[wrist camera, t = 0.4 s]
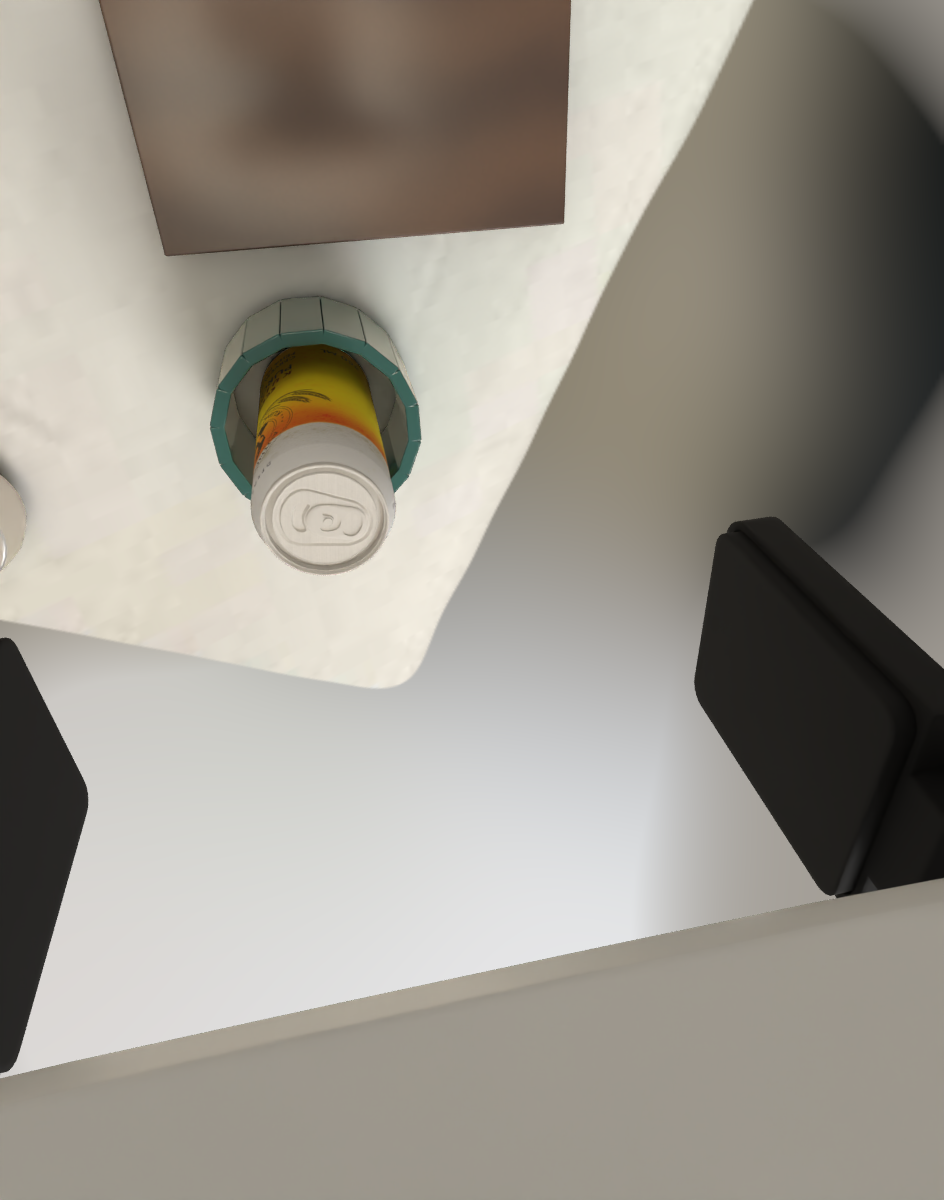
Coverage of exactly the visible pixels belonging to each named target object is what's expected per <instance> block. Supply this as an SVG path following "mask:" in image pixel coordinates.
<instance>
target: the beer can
mask: <svg viewBox="0 0 944 1200" xmlns="http://www.w3.org/2000/svg"><path fill="white" fill-rule="evenodd" d="M395 512H396V502H395V495H394V491H393V486H392V482H391V478H390V473H389V469H388V465H387V460H386V456H385V452H384V448H383V443H382V439H381V435H380V430H379V426H378V422H377V417H376V413H375V409H374V404H373V400H372V396H371V391H370V387H369V383H368V380H367V378H366V375H365V374H364V372H363V370H362V369H361V367H360V366H359V364H358V363H357V362H356V361H355V360H354V359H353V358H352V357H351V356H349V355H348V354H347V353H345V352H343V351H342V350H340V349H338V348H335V347H332V346H328V345H325V344H317V345H307V346H297V347H291V348H289V349H287V350H285V351H283V352H282V353H281V354H279V355H278V356H277V357H276V358H275V359H274V360H273V361H272V362H271V363H270V365H269V366H268V368H267V369H266V371H265V374H264V376H263V379H262V383H261V390H260V401H259V413H258V425H257V436H256V448H255V459H254V471H253V483H252V494H251V515H252V519H253V523H254V525H255V528H256V530H257V532H258V534H259V536H260V537H261V539H262V540H263V541H264V543H265V544H266V545H267V546H268V547H269V549H270V550H271V552H272V553H273V554H274V555H275V556H276V557H277V558H278V559H279V560H281V561H282V562H283V563H285V564H286V565H288V566H290V567H291V568H293V569H296V570H298V571H301V572H304V573H308V574H313V575H336V574H342V573H345V572H349V571H351V570H354V569H356V568H358V567H360V566H362V565H363V564H365V563H366V562H367V561H369V560H370V559H371V558H372V557H373V556H374V555H375V554H376V553H377V552H378V550H379V549H380V548H381V546H382V544H383V543H384V541H385V539H386V537H387V536H388V534H389V532H390V530H391V528H392V525H393V522H394V518H395Z"/></svg>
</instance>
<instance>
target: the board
mask: <svg viewBox="0 0 944 1200" xmlns="http://www.w3.org/2000/svg"><path fill="white" fill-rule="evenodd" d="M99 3H100V7H101V11H102V14H103V18H104V22H105V26H106V30H107V34H108V37H109V41H110V45H111V49H112V53H113V57H114V61H115V64H116V68H117V72H118V76H119V80H120V84H121V87H122V91H123V95H124V99H125V103H126V107H127V111H128V114H129V118H130V122H131V126H132V130H133V134H134V137H135V141H136V145H137V149H138V153H139V157H140V161H141V164H142V168H143V172H144V176H145V180H146V184H147V187H148V191H149V195H150V199H151V203H152V207H153V211H154V214H155V218H156V222H157V226H158V230H159V234H160V237H161V241H162V245H163V249H164V253H165V255H166V256H176V255H189V254H201V253H213V252H225V251H238V250H250V249H262V248H274V247H287V246H299V245H311V244H323V243H336V242H348V241H360V240H372V239H385V238H397V237H409V236H421V235H434V234H446V233H458V232H470V231H483V230H495V229H507V228H519V227H532V226H544V225H556V224H563V223H564V209H565V177H566V145H567V113H568V81H569V48H570V16H571V0H99Z"/></svg>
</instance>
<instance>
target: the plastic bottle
mask: <svg viewBox="0 0 944 1200" xmlns="http://www.w3.org/2000/svg"><path fill="white" fill-rule="evenodd" d="M26 519H27V516H26V511H25V507H24V504H23V502H22V499H21V497H20V496H19V494H18V493H17V491H16V490H15V488H14V487H13V486H12V485H11V484H10V483H9V482H8V481H7V480H6V479H5V478H4V477H3V476H1V475H0V572H1V571H2V570H3V569H4V568H5V567H6V566H7V565H8V564H9V563H10V562H11V561H12V559H13V558H14V557H15V556H16V554H17V553H18V551H19V550H20V549H21V546H22V543H23V540H24V535H25V529H26Z"/></svg>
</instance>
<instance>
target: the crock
mask: <svg viewBox="0 0 944 1200" xmlns="http://www.w3.org/2000/svg"><path fill="white" fill-rule="evenodd" d="M317 344H325V345H328V346H332V347H335V348H338V349H342V350H345V351H349V352H352V353H355V354H359V355H361V356H362V357H363V358H364V359H366V360H367V361H368V362H369V363H371V364H372V365H373V366H375V367H376V368H377V369H378V370H380V371H381V372H382V373H383V374H385V375H386V376H387V377H388V378H389V379H390V381H391V383H392V385H393V387H394V388H395V395H396V400H395V403H394V407H393V410H392V413H391V416H390V419H389V423H388V426H387V427H386V429H385V430H384V431H383V432H382V433H381V434H380V435H381V439H382V443H383V448H384V452H385V456H386V460H387V465H388V469H389V473H390V478H391V482H392V486H393V491H394V493H395V492H396V491H397V490H398V488H399V487H400V486H401V485H402V484H403V483H404V482H405V481H406V479H407V478H408V477H409V474H410V473H411V470H412V467H413V464H414V462H415V459H416V456H417V453H418V450H419V447H420V444H421V441H420V440H421V428H420V417H419V405H418V403H417V399H416V396H415V393H414V391H413V388H412V385H411V382H410V379H409V377H408V374H407V371H406V368H405V365H404V363H403V361H402V359H401V357H400V355H399V353H398V352H397V350H396V348H395V346H394V344H393V342H392V340H391V338H390V337H389V335H388V334H387V332H386V331H385V330H384V329H382V328H381V327H380V326H379V325H378V324H376V323H375V322H374V321H373V320H372V319H370V318H369V317H368V316H367V315H366V314H364V313H363V312H362V311H361V310H360V309H357V308H356V307H353V306H350V305H347V304H344V303H341V302H337V301H334V300H331V299H328V298H325V297H319V296H315V297H303V298H292V299H282V300H281V301H277V302H275V303H274V304H272V305H270V306H268V307H266V308H265V309H263V310H261V311H259V312H257V313H256V314H254V315H252V316H250V317H249V318H248V320H245V322H244V323H243V325H242V326H241V327H240V329H239V330H238V332H237V333H236V334H235V336H234V337H233V338H232V340H231V341H230V343H229V344H228V345H227V347H226V350H225V352H224V356H223V361H222V366H221V371H220V375H219V380H218V385H217V389H216V395H215V400H214V406H213V411H212V416H211V422H210V426H211V427H210V430H211V434H212V438H213V442H214V445H215V449H216V453H217V457H218V461H219V464H221V465H220V466H221V467H222V469H223V470H224V471H225V473H226V474H227V475H228V477H229V478H230V479H231V480H232V482H233V483H234V484H235V486H236V487H237V488H238V490H239V491H240V492H241V493H242V495H245V497H246V498H248V499H249V500H251V494H252V483H253V471H254V459H255V448H256V439H255V437H254V436H253V435H252V433H251V432H250V430H249V429H248V428H247V426H246V425H245V423H244V422H243V421H242V419H241V418H240V416H239V413H238V409H237V405H236V401H235V396H234V392H233V391H234V390H235V388H236V387H237V386H238V384H239V383H240V382H241V380H242V379H243V378H244V376H245V375H246V374H247V372H248V371H249V370H250V368H251V367H252V365H254V364H256V363H258V362H260V361H262V360H263V359H265V358H267V357H269V356H271V355H272V354H274V353H276V352H278V351H280V350H282V349H283V348H287V347H297V346H307V345H317Z"/></svg>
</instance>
